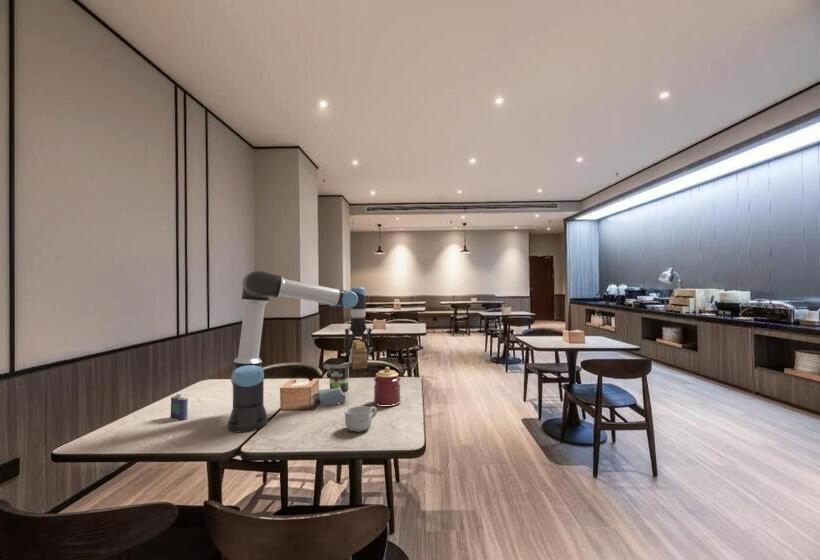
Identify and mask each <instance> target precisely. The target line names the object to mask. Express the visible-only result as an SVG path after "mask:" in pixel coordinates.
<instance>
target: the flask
mask: <svg viewBox="0 0 820 560" xmlns="http://www.w3.org/2000/svg"><path fill="white" fill-rule="evenodd" d="M182 395H183V394H182V393H176V394H175V395H174V396H171V398H170V419H171V418H172V419H171V420H176V419H177V421H186V420H188V418H189V416H188V414H189V413H188V412H189V411H188V409H189V408H188V407H189V405H188V404H189V403H188V402H189V398H188V397H181V396H182Z"/></svg>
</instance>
